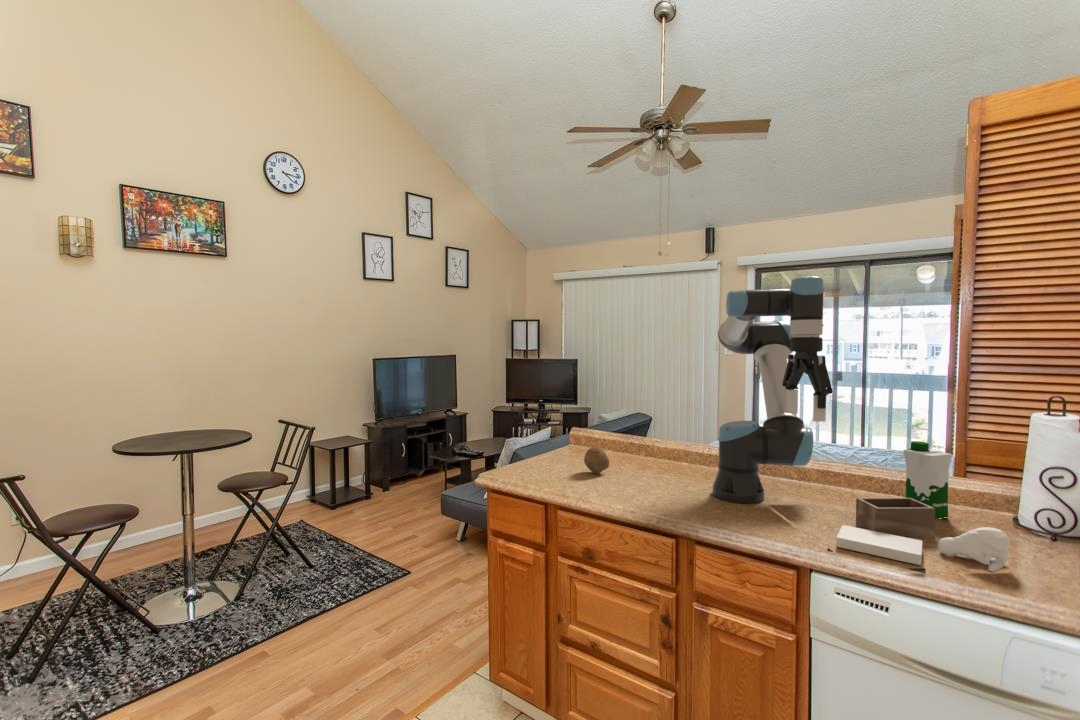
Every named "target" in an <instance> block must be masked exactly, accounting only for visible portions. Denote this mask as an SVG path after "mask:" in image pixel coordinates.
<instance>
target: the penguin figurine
mask: <svg viewBox="0 0 1080 720" xmlns="http://www.w3.org/2000/svg"><path fill="white" fill-rule="evenodd" d="M937 546H938V549H939V551H940V552H941V553H942V554H943V555H945V556H946V557H949V558H952V557H956V556H958V555H960V556H965V557H967V558H970V559H973V560H975V561H977V562H979V563H981V564H983V565H988V567H987V572H989V571H991V572H990V573H995V572H997V571H999V570H1001V569H1002V568H1003V567H1004V566H1005V564H1006V562H1007V561H1008V557H1009V552H1010V551H1009V550H1010V546H1011V542H1010V538H1009V537H1008V535H1007V533H1005V532H1004V531H1003V530H1002V529H998V528H996V527H988V526H986V527H985V526H981V527H977V528H975V529H970V530H968V531H967V532H964V533H962V534H960V535H958V536H955V537H942V538H940V539H939V541H938V544H937ZM989 556H991V557H992V558H990V559H988V558H986V557H989Z"/></svg>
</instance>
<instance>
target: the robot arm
mask: <svg viewBox="0 0 1080 720" xmlns="http://www.w3.org/2000/svg"><path fill="white" fill-rule="evenodd" d="M824 293H825V287H824V279H823V278H822V277H821V276H800V277H794V278H793V279H791V282H790V288H779V289H777V288H774V289H739V290H737V289H736V290H730V291H729V292H728V293H727V294H726V302H725V303H726V304H725V307H726V309H725V310H726V314H727V317H726V319H725V321H723V322H722V323H721V325H720V326H719V329H718V331H717V337H718V340H719V342H720V343H721V345H722V346H723V347H724V348H726V349H727V350H728V351H730V352H732V353H736V354H740V355H753V359H754V360H755V362H757V363H759V367H760V375H761V382H762V390H763V397H764V404H765V412H766V413H765V414H766V418H767V419H765V420H764V421H763V422H762V426H761V425H760V424H759V422H758V421H756V420H755V421H754V420H737V421H736V420H735V421H729V422H725V423H723V424H722V425H720V427H719V429H718V438H717V439H718V440H717V441H718V470H717V472H716V473H717V474H716V475H715V479H714V482H713V484H712V495H713V496H714V497H715V498H718V499H720V500H723V501H727V502H730V503H731V502H733V503H739V504H755V503H760V502H762V501H764V500H765V490H764V486H763V483H762V480H761V477H760V474H759V465H772V466H789V467H794V466H795V467H797V466H799V467H802V466H803V467H804V466H806V465H809V462H810V460H811V459H812V456H813V451H814V433H813V430H812V429H811V427H808V426H806V427H805V423H804V420H803V419H802V418H800V417H799V416H797V414H798V411H799V408H798V407H799V400H798V399H799V390H798V389H799V387H798V385H799V383H800V381H801V379H802V377H803V375H804V374H805V375H807V376H808V379H809V381H810V383H811V386H812V388H813V390H814V392H813V393H812V396H813V404H812V405H813V407H812V408H813V409H812V410H813V411H812V416H813V417H812V421H813V422H827V421H826V419H827V413H826V411H827V410H826V409H827V396H828V395H829V394H830V395H831V394H833V387H832V384H831V379H830V376H829V372H828V368H827V365H826V362H827V361H826V356H825V355H818V353H819V352H822V351H823V338H822V337H820V336H822V335H823V333H824V332H823V327H824V321H823V319H824ZM784 316H785V317H786V316H787V317H790V320H789V322H786V321H780V320H779V321H778V320H772V321H754V320H755V319H756V317H784ZM789 323H790V324H789ZM792 353H793V354H792ZM794 353H795V354H794Z"/></svg>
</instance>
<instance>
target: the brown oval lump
mask: <svg viewBox="0 0 1080 720" xmlns="http://www.w3.org/2000/svg"><path fill="white" fill-rule="evenodd" d="M583 462H584V465H585V466H586V467H587V468H588V470H590V472H591V473H593V474H595V475H597V474H600V473H602V472H603V471H605V470H607V469H608V468H609V467H610V460H609V457H608V455H607V453H606V451H604V449H602V448H601V447H599V446H592V447H590V448H588V450H587V451H586V452H585V454H584V458H583Z"/></svg>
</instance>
